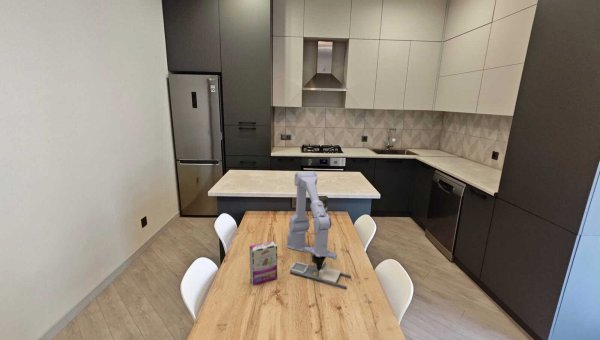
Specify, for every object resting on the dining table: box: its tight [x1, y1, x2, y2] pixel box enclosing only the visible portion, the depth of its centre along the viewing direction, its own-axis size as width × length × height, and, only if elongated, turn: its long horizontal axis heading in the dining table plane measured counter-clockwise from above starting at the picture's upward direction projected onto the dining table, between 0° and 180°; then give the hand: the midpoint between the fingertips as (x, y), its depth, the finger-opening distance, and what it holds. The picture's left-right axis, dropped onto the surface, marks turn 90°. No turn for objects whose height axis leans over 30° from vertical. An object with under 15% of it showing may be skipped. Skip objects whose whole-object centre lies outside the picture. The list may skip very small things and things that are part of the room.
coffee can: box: [311, 195, 329, 217], centre depth 192 cm, size 10×10×14 cm
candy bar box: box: [249, 240, 278, 286], centre depth 122 cm, size 11×5×16 cm, turn 117°
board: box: [289, 261, 352, 290], centre depth 127 cm, size 27×9×2 cm, turn 68°
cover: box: [319, 261, 342, 284], centre depth 125 cm, size 8×9×4 cm
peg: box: [311, 253, 316, 264], centre depth 138 cm, size 4×4×6 cm
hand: (319, 269), depth 127 cm, fingers closed
